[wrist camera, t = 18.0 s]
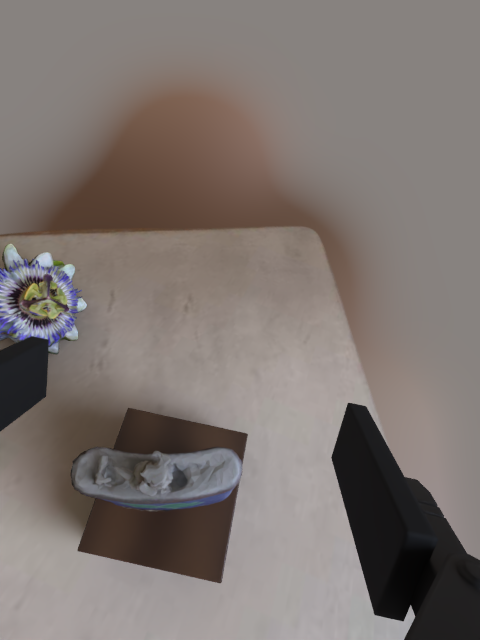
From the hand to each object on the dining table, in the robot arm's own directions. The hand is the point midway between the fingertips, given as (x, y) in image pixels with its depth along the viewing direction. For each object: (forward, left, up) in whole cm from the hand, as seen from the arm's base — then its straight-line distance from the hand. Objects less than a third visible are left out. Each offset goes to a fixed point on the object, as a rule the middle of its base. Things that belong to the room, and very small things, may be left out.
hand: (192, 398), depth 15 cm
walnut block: (+1, +3, -20) cm, 21 cm away
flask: (+1, +3, -14) cm, 15 cm away
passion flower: (+20, -10, -20) cm, 31 cm away
